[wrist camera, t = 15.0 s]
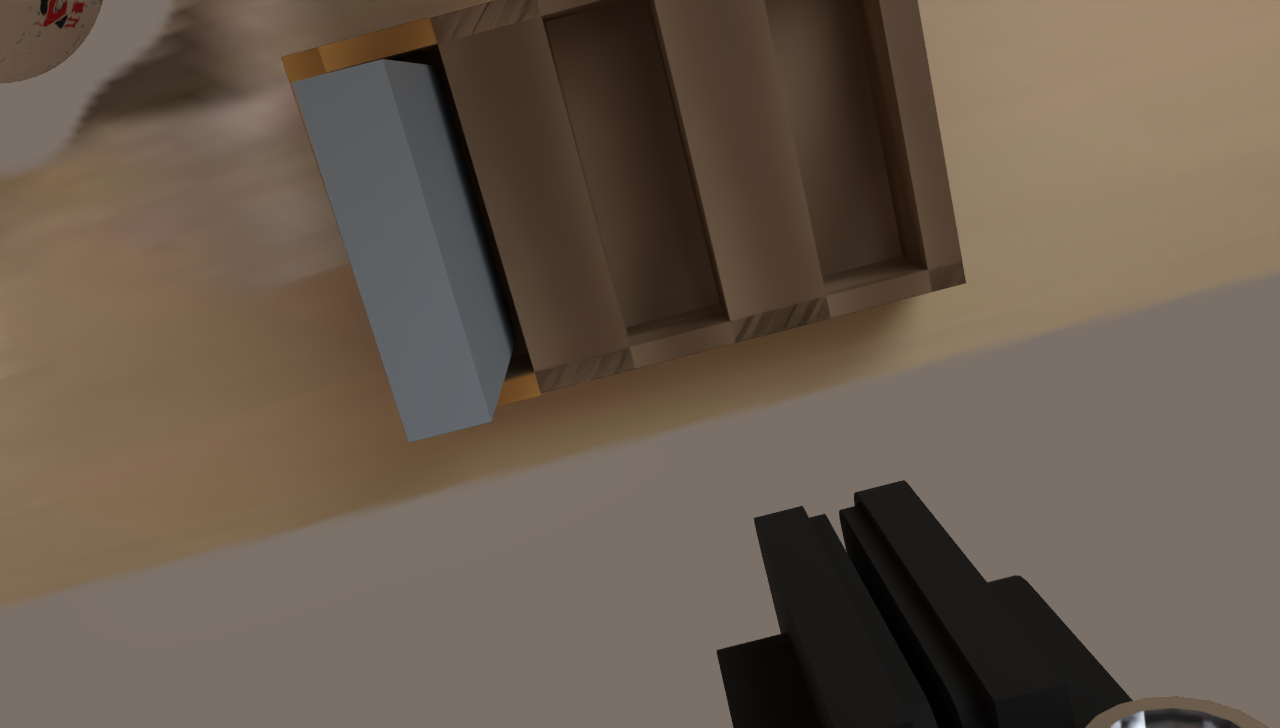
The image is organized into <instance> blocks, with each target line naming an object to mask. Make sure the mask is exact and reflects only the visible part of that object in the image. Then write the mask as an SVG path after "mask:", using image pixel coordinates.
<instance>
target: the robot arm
mask: <svg viewBox="0 0 1280 728" xmlns="http://www.w3.org/2000/svg"><path fill="white" fill-rule="evenodd" d="M854 503H855V506H854V507H850V508H846V509H842V510H840V511H839V516H840V522H841V528H842V532H843V537H844V541H845V546H846V551H847V552H846V551H845V549H844V547H843V545H842V543H841V541H840V540H839V538H838V536H837V534H836V532H835V531H834V529H833V527H832V525H831V523H830V521H829V520H828V518H827V516H826V515H825V514H823V515H818V516H814V517H810V518H809V517H808V515H807V513H806V511H805V510H804V508H803V506H800V507H796V508H792V509H788V510H784V511H780V512H776V513H772V514H768V515H765V516H760V517H756V518H754V522H755V527H756V532H757V536H758V540H759V545H760V549H761V553H762V557H763V561H764V565H765V569H766V574H767V577H768V581H769V585H770V590H771V594H772V598H773V603H774V607H775V611H776V615H777V619H778V623H779V627H780V631H781V634H780V635H775V636H771V637H767V638H763V639H760V640H755V641H751V642H747V643H744V644H739V645H735V646H731V647H727V648H723V649H720V650H717V655H718V660H719V664H720V669H721V673H722V678H723V683H724V687H725V691H726V696H727V700H728V705H729V710H730V714H731V718H732V722H733V727H734V728H1270V727H1268V726H1267V725H1266V724H1264V723H1262V722H1260V721H1258V720H1257V719H1255V718H1253V717H1251V716H1249V715H1247V714H1246V713H1244V712H1242V711H1240V710H1237V709H1234V708H1231V707H1228V706H1225V705H1222V704H1218V703H1215V702H1212V701H1209V700H1201V699H1193V698H1186V697H1178V696H1174V697H1151V698H1143V699H1139V700H1135V701H1133V700H1132V699H1131V698H1130V697H1129V696H1128V695H1127V694H1126V692H1125V691H1124V690H1123V689H1122V688H1121V687H1120V686H1119V685H1118V683H1117V682H1116V681H1115V680H1114V679H1113V678H1112V677H1111V676H1110V674H1109V673H1108V672H1107V671H1106V670H1105V669H1104V668H1103V666H1102V665H1101V664H1100V663H1099V662H1098V661H1097V660H1096V659H1095V657H1094V656H1093V655H1092V654H1091V653H1090V652H1089V651H1088V650H1087V649H1086V647H1085V646H1084V645H1083V644H1082V643H1081V642H1080V641H1079V639H1077V637H1076V636H1075V635H1074V634H1073V633H1072V632H1071V630H1070V629H1069V628H1068V627H1067V626H1066V625H1065V624H1064V622H1063V621H1062V620H1061V619H1060V618H1059V617H1058V616H1057V614H1056V613H1055V612H1054V611H1053V610H1052V609H1051V608H1050V607H1049V605H1048V604H1047V603H1046V602H1045V601H1044V600H1043V599H1042V597H1041V596H1040V595H1039V594H1038V593H1037V592H1036V591H1035V590H1034V589H1033V587H1032V586H1031V585H1030V584H1029V583H1028V582H1027V581H1026V580H1025V579H1023V578H1022V577H1021V576H1011V577H1007V578H1003V579H999V580H995V581H991V582H986V581H985V579H984V578H983V577H982V576H981V574H980V573H979V572H978V571H977V569H976V568H975V567H974V566H973V564H972V563H971V562H970V561H969V559H968V558H967V557H966V556H965V554H964V553H963V552H962V551H961V549H960V548H959V547H958V546H957V544H955V542H954V541H953V539H952V538H951V537H950V536H949V534H948V533H947V532H946V531H945V529H944V528H943V527H942V526H941V524H940V523H939V522H938V521H937V519H936V518H935V517H934V516H933V514H932V513H931V512H930V511H929V509H928V508H927V507H926V506H925V504H924V503H923V502H922V501H921V499H920V498H919V497H918V496H917V495H916V493H915V492H914V491H913V490H912V488H911V487H910V486H909V485H908V483H907V482H906V481H904V480H903V481H899V482H895V483H891V484H887V485H883V486H879V487H875V488H871V489H867V490H864V491H859V492H856V493H854Z"/></svg>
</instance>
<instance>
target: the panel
mask: <svg viewBox="0 0 1280 728" xmlns="http://www.w3.org/2000/svg"><path fill="white" fill-rule="evenodd" d="M291 83H292V86H293V89H294V92H295V95H296V98H297V101H298V104H299V108H300V111H301V114H302V117H303V120H304V123H305V126H306V129H307V132H308V135H309V138H310V141H311V144H312V147H313V150H314V154H315V157H316V160H317V163H318V166H319V169H320V172H321V175H322V178H323V181H324V184H325V187H326V190H327V193H328V197H329V200H330V203H331V206H332V209H333V212H334V215H335V218H336V221H337V224H338V227H339V230H340V233H341V236H342V240H343V243H344V246H345V249H346V252H347V255H348V258H349V261H350V264H351V267H352V270H353V273H354V276H355V279H356V283H357V286H358V289H359V292H360V295H361V298H362V301H363V304H364V307H365V310H366V313H367V316H368V319H369V322H370V326H371V329H372V332H373V335H374V338H375V341H376V344H377V347H378V350H379V353H380V356H381V359H382V362H383V365H384V369H385V372H386V375H387V378H388V381H389V384H390V387H391V390H392V393H393V396H394V399H395V402H396V405H397V408H398V412H399V415H400V418H401V421H402V424H403V427H404V430H405V433H406V436H407V439H408V442H409V443H410V442H414V441H418V440H422V439H426V438H430V437H434V436H438V435H442V434H446V433H450V432H454V431H458V430H462V429H466V428H470V427H474V426H478V425H482V424H486V423H490V422H492V419H493V416H494V413H495V409H496V406H497V402H498V399H499V396H500V392H501V389H502V385H503V382H504V379H505V375H506V372H507V368H508V365H509V362H510V358H511V355H512V352H513V348H514V345H515V341H516V338H517V337H516V334H515V330H514V327H513V323H512V320H511V316H510V313H509V309H508V306H507V302H506V299H505V296H504V292H503V289H502V285H501V282H500V278H499V275H498V271H497V268H496V264H495V261H494V257H493V254H492V250H491V247H490V243H489V240H488V236H487V233H486V229H485V226H484V222H483V219H482V215H481V212H480V208H479V205H478V201H477V198H476V194H475V191H474V188H473V184H472V181H471V177H470V174H469V170H468V167H467V163H466V160H465V156H464V153H463V149H462V146H461V142H460V139H459V135H458V132H457V128H456V125H455V121H454V118H453V114H452V111H451V107H450V104H449V100H448V97H447V93H446V90H445V86H444V83H443V79H442V76H441V73H440V69H439V66H432V65H424V64H416V63H409V62H401V61H394V60H386V59H381V60H377V61H373V62H369V63H365V64H361V65H358V66H354V67H350V68H346V69H342V70H338V71H334V72H330V73H326V74H322V75H319V76H315V77H311V78H307V79H303V80H299V81H295V82H291Z"/></svg>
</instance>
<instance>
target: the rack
mask: <svg viewBox="0 0 1280 728" xmlns="http://www.w3.org/2000/svg"><path fill="white" fill-rule="evenodd" d="M281 58H282V61H283V64H284V67H285V70H286V73H287V76H288V79H289V82H290V85H291V88H292V91H293V94H294V97H295V100H296V103H297V106H298V109H299V112H300V115H301V118H302V121H303V124H304V127H305V130H306V132H307V129H306V126H305V123H304V120H303V117H302V114H301V111H300V108H299V104H298V101H297V98H296V95H295V92H294V89H293V86H292V83H291V82H295V81H299V80H303V79H307V78H311V77H315V76H319V75H322V74H326V73H330V72H334V71H338V70H342V69H346V68H350V67H354V66H358V65H361V64H365V63H369V62H373V61H377V60H381V59H386V60H394V61H401V62H409V63H416V64H424V65H432V66H439V69H440V73H441V76H442V79H443V83H444V86H445V90H446V93H447V97H448V100H449V104H450V107H451V111H452V114H453V118H454V121H455V125H456V128H457V132H458V135H459V139H460V142H461V146H462V149H463V153H464V156H465V160H466V163H467V167H468V170H469V174H470V177H471V181H472V184H473V188H474V191H475V194H476V198H477V201H478V205H479V208H480V212H481V215H482V219H483V222H484V226H485V229H486V233H487V236H488V240H489V243H490V247H491V250H492V254H493V257H494V261H495V264H496V268H497V271H498V275H499V278H500V282H501V285H502V289H503V292H504V296H505V299H506V302H507V306H508V309H509V313H510V316H511V320H512V323H513V327H514V330H515V334H516V337H517V338H516V341H515V345H514V348H513V352H512V355H511V358H510V362H509V365H508V368H507V372H506V375H505V379H504V382H503V385H502V389H501V392H500V396H499V399H498V402H497V406H496V407H499V406H503V405H507V404H511V403H514V402H518V401H522V400H526V399H530V398H534V397H538V396H540V395H541V393H544V392H548V391H552V390H555V389H559V388H563V387H567V386H571V385H575V384H579V383H582V382H586V381H590V380H594V379H598V378H602V377H606V376H609V375H613V374H617V373H621V372H625V371H629V370H633V369H636V368H640V367H644V366H648V365H652V364H656V363H660V362H663V361H667V360H671V359H675V358H679V357H683V356H687V355H690V354H694V353H698V352H702V351H706V350H710V349H714V348H717V347H721V346H725V345H729V344H733V343H737V342H741V341H745V340H748V339H752V338H756V337H760V336H764V335H768V334H772V333H775V332H779V331H783V330H787V329H791V328H795V327H799V326H802V325H806V324H810V323H814V322H818V321H822V320H826V319H829V318H833V317H837V316H841V315H845V314H849V313H853V312H856V311H860V310H864V309H868V308H872V307H876V306H880V305H883V304H887V303H891V302H895V301H899V300H903V299H907V298H910V297H914V296H918V295H922V294H926V293H930V292H934V291H937V290H941V289H945V288H949V287H953V286H957V285H961V284H964V283H966V280H965V275H964V269H963V263H962V257H961V251H960V246H959V240H958V234H957V228H956V222H955V216H954V211H953V205H952V199H951V193H950V187H949V182H948V176H947V170H946V164H945V158H944V153H943V147H942V141H941V135H940V129H939V123H938V118H937V112H936V106H935V100H934V94H933V89H932V83H931V77H930V71H929V65H928V60H927V54H926V48H925V42H924V36H923V30H922V25H921V19H920V13H919V7H918V1H917V0H496V1H492V2H488V3H485V4H481V5H477V6H473V7H470V8H466V9H462V10H459V11H455V12H451V13H447V14H444V15H440V16H436V17H432V18H425V19H421V20H417V21H414V22H410V23H406V24H402V25H399V26H395V27H391V28H388V29H384V30H380V31H376V32H373V33H369V34H365V35H361V36H358V37H354V38H350V39H346V40H343V41H339V42H335V43H332V44H328V45H324V46H320V47H317V48H313V49H309V50H305V51H302V52H298V53H294V54H290V55H287V56H283V57H281ZM307 135H308V132H307ZM308 138H309V135H308ZM309 141H310V138H309ZM310 144H311V141H310ZM311 147H312V144H311ZM312 150H313V147H312ZM313 153H314V150H313ZM314 156H315V154H314ZM315 159H316V157H315ZM316 162H317V160H316ZM317 165H318V163H317ZM318 168H319V166H318ZM319 171H320V169H319ZM320 174H321V172H320ZM321 177H322V175H321ZM322 180H323V178H322ZM323 183H324V181H323ZM324 186H325V184H324ZM325 189H326V187H325ZM326 192H327V190H326ZM327 195H328V193H327ZM328 198H329V197H328ZM329 201H330V200H329ZM330 204H331V203H330ZM331 207H332V206H331ZM332 210H333V209H332ZM333 213H334V212H333ZM334 216H335V215H334ZM335 219H336V218H335ZM336 222H337V221H336ZM337 225H338V224H337ZM338 228H339V227H338ZM339 231H340V230H339ZM340 234H341V233H340ZM341 237H342V236H341Z"/></svg>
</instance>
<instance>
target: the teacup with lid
mask: <svg viewBox="0 0 1280 728" xmlns="http://www.w3.org/2000/svg"><path fill="white" fill-rule="evenodd" d="M102 1H103V0H0V83H10V82H16V81H22V80H25V79H28V78H32V77H35V76H38V75H40V74H43V73H45V72H47V71H49V70H51V69H53V68H55V67H56V66H58V65H59V64H60V63H62V62H63V61H65V60H66V59H67V58H68V57H69V56H70V55H72V54H73V53H74V52H75V51H76V50H77V48H78V47H79V46H80V45H81V44H82V43H83V41H84V40H85V38H86V37H87V35H88V34H89V32H90V31H91V29H92V27H93V25H94V23H95V21H96V18H97V16H98V14H99V11H100V8H101V5H102Z"/></svg>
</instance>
